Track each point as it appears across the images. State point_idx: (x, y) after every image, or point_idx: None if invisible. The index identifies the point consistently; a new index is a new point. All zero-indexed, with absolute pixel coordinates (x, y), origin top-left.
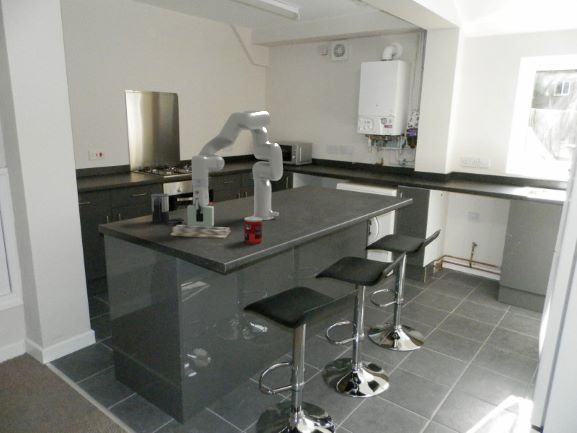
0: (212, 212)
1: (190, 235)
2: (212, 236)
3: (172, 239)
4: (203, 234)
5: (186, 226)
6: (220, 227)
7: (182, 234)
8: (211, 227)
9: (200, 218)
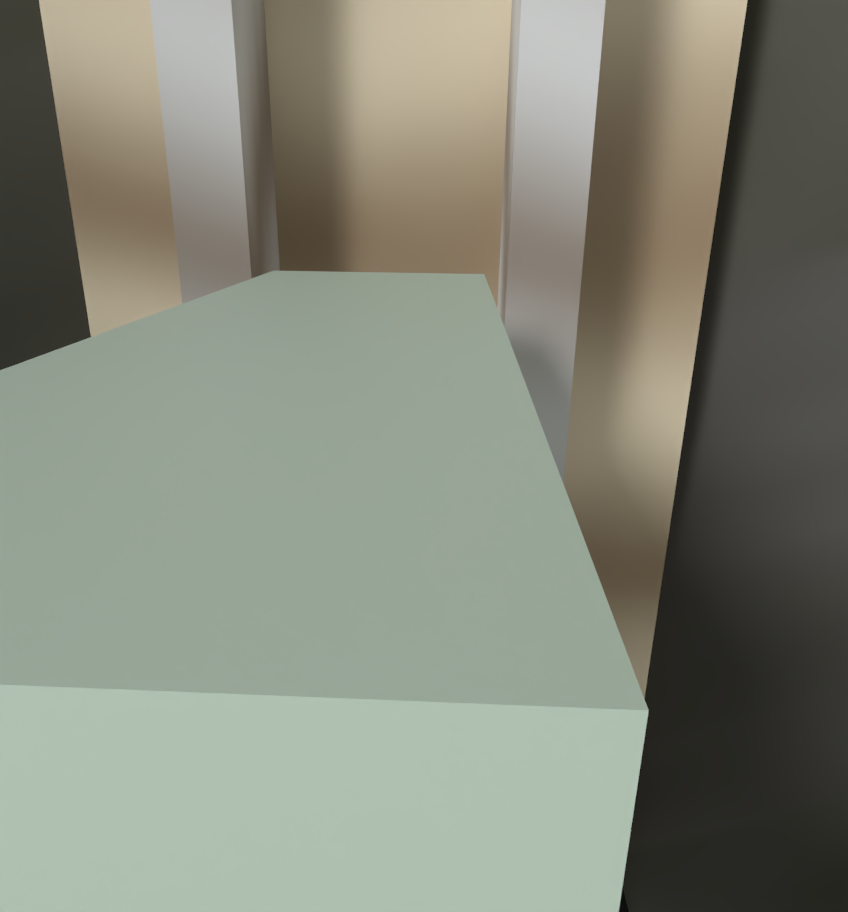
0: (400, 388)
1: (643, 660)
2: (714, 180)
3: (842, 849)
4: (592, 434)
5: None
6: (198, 64)
7: None
8: None
9: None
